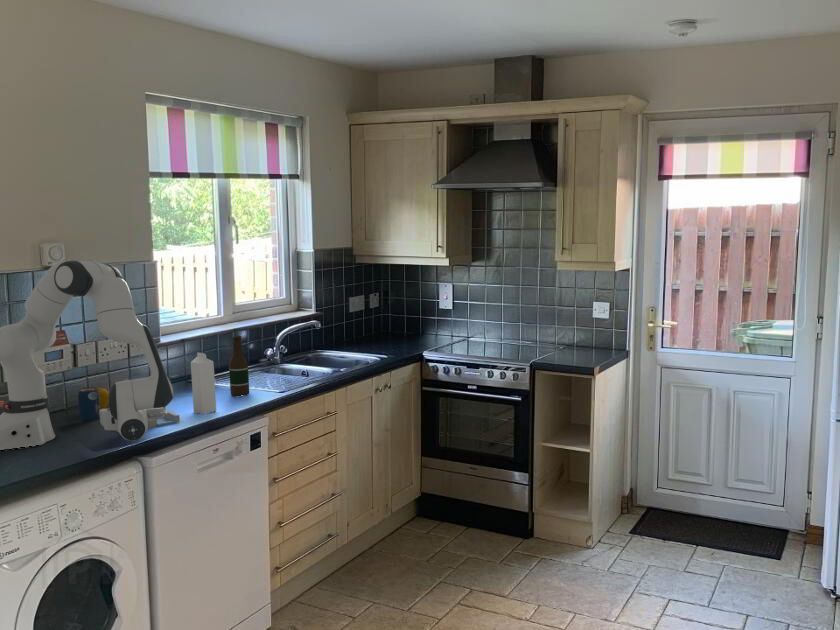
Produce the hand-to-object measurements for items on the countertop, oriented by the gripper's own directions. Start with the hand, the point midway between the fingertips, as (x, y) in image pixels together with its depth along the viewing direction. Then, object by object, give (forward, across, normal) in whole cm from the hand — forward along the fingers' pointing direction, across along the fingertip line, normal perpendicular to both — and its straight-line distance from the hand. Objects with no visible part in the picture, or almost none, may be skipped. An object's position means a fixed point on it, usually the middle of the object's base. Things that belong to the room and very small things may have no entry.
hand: (132, 408), depth 264 cm
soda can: (+25, +15, +9) cm, 30 cm away
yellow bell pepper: (+42, +12, +10) cm, 45 cm away
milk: (+22, -25, +9) cm, 35 cm away
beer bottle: (+46, -40, +9) cm, 62 cm away
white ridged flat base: (+6, -4, +9) cm, 12 cm away
